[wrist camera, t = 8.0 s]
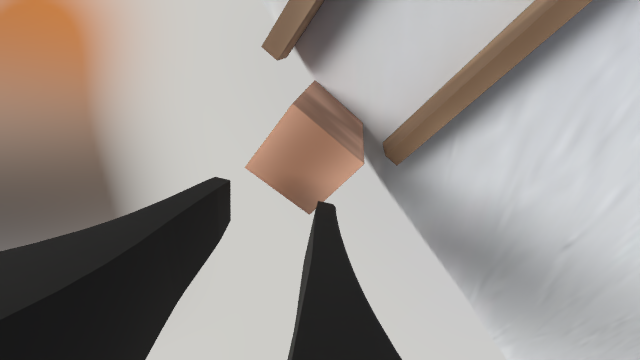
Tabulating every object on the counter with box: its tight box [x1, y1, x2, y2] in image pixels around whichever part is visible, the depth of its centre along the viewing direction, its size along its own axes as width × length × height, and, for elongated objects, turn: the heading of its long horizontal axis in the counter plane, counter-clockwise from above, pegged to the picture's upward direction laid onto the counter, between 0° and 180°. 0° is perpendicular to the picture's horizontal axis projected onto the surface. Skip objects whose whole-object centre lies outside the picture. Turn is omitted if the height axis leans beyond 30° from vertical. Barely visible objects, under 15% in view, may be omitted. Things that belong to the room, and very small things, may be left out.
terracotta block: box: [245, 81, 364, 214], centre depth 14 cm, size 4×4×6 cm
